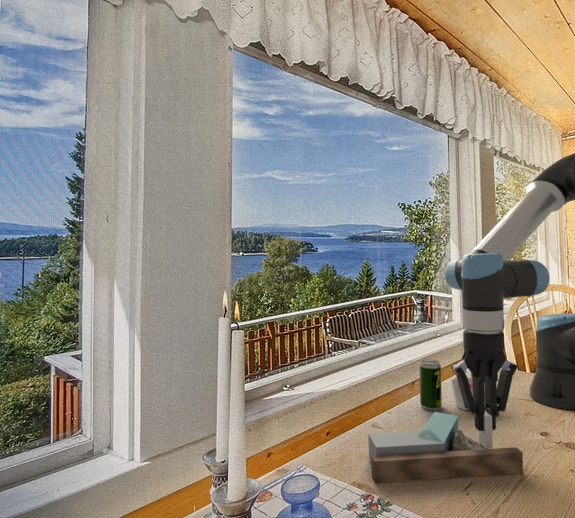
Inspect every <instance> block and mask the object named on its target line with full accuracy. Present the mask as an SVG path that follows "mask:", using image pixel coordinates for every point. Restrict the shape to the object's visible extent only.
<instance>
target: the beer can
mask: <svg viewBox="0 0 575 518" xmlns="http://www.w3.org/2000/svg"><path fill="white" fill-rule="evenodd" d="M419 390H420V391H419V393H420V395H419V398H420V402H419V403H420V406H421V408H423V409H424V410H426V411H427V410H428V411H439V410H441V408H442V406H443V402H442V399H443V398H442V396H443V395H442V393H443V392H442V364H441V361H439V360H437V359H431V358H430V359H421V360H420V363H419Z"/></svg>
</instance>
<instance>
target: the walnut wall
mask: <svg viewBox="0 0 575 518" xmlns="http://www.w3.org/2000/svg"><path fill="white" fill-rule="evenodd" d="M523 454H524V452H523V451H522V450H520V448H518V447H517V446H515V447H500V448H497V447H496V448H491V449H480V450H463V451H447V452H430V453H414V454H397V455H381V456H371V458H372V463H371V478H372V480H373V482H374V484H381V483H394V482H395V483H396V482H397V483H398V482H411V481H413V482H414V481H426V480H427V481H428V480H440V479H441V480H442V479H455V478H456V479H458V478H474V477H475V478H476V477H487V476H503V475H505V476H507V475H517V474H520V475H521V474H524V461H523V460H524V455H523Z"/></svg>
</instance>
